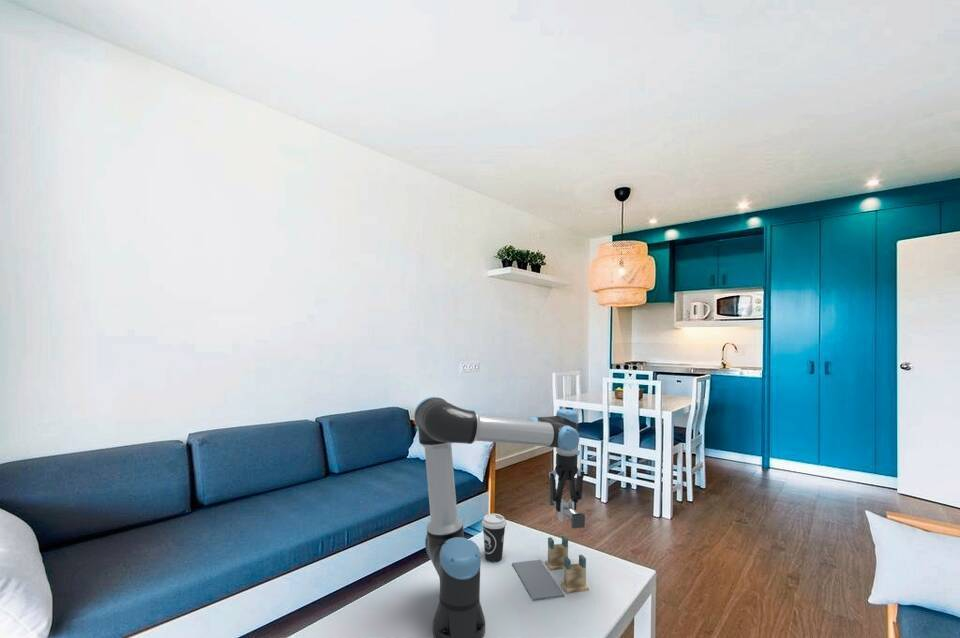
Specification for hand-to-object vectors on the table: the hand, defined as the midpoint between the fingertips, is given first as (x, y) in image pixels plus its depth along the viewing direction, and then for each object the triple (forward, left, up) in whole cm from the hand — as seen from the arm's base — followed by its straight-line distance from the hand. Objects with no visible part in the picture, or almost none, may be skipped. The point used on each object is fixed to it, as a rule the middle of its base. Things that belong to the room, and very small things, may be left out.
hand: (565, 519), depth 151 cm
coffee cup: (-22, +17, -20) cm, 34 cm away
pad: (-11, 0, -20) cm, 22 cm away
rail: (0, 0, +2) cm, 2 cm away
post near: (0, -7, -20) cm, 21 cm away
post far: (0, +7, -20) cm, 21 cm away
